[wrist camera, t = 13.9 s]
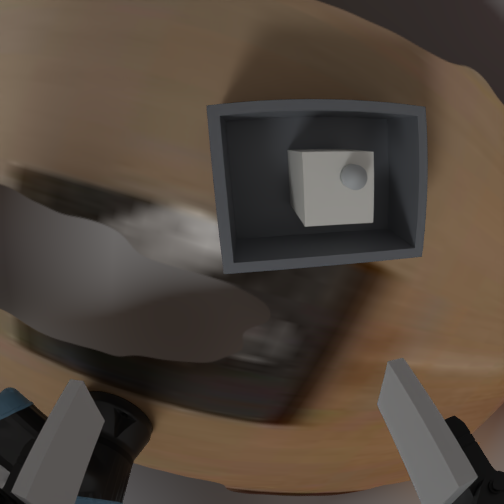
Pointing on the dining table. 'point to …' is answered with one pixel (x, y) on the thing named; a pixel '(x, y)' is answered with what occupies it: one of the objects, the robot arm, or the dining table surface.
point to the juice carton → (331, 186)
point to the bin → (278, 191)
